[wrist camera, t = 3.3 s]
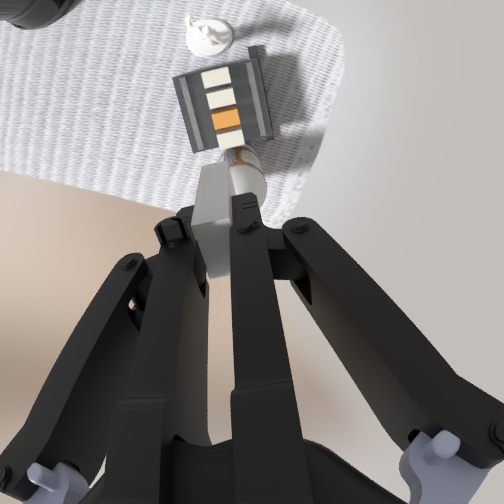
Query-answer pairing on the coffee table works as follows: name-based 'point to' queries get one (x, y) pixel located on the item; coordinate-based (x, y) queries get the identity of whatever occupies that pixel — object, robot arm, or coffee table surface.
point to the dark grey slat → (254, 54)
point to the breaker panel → (247, 101)
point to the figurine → (208, 36)
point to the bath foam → (245, 171)
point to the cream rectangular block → (216, 77)
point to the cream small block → (230, 137)
